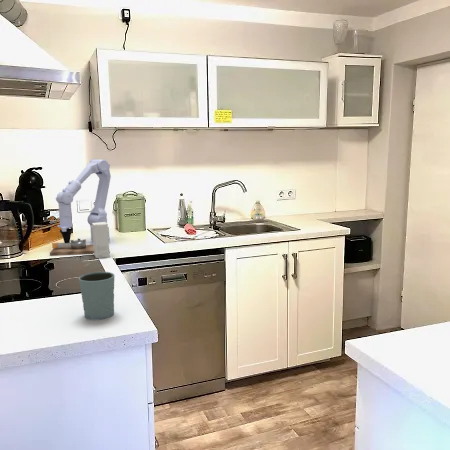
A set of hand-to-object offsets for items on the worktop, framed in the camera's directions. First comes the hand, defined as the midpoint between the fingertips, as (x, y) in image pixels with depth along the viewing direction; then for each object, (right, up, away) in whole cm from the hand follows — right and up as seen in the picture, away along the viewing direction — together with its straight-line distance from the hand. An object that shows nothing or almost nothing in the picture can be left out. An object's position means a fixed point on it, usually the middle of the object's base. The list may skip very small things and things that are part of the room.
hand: (67, 243), depth 226 cm
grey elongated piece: (+3, -2, -5) cm, 6 cm away
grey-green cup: (+41, -18, -90) cm, 100 cm away
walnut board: (+5, -4, -4) cm, 8 cm away
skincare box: (+21, -6, -15) cm, 26 cm away
